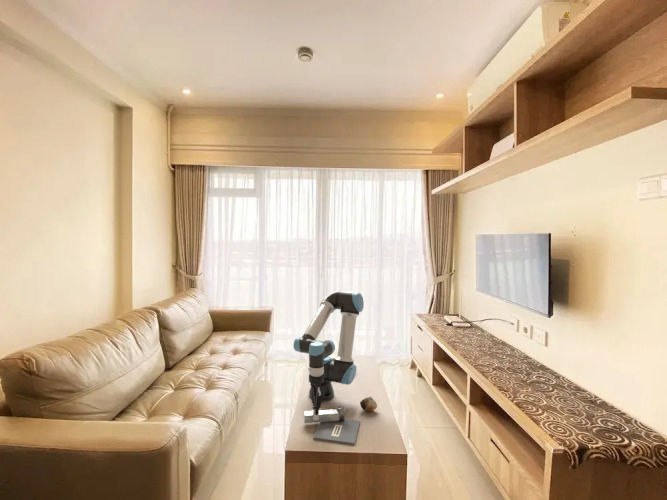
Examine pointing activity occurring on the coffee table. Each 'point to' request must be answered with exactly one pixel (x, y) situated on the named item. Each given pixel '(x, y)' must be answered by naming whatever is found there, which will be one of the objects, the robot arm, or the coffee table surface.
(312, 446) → the coffee table surface
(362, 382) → the coffee table surface
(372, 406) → the seashell
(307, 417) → the swing bar
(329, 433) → the panel
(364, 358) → the coffee table surface
